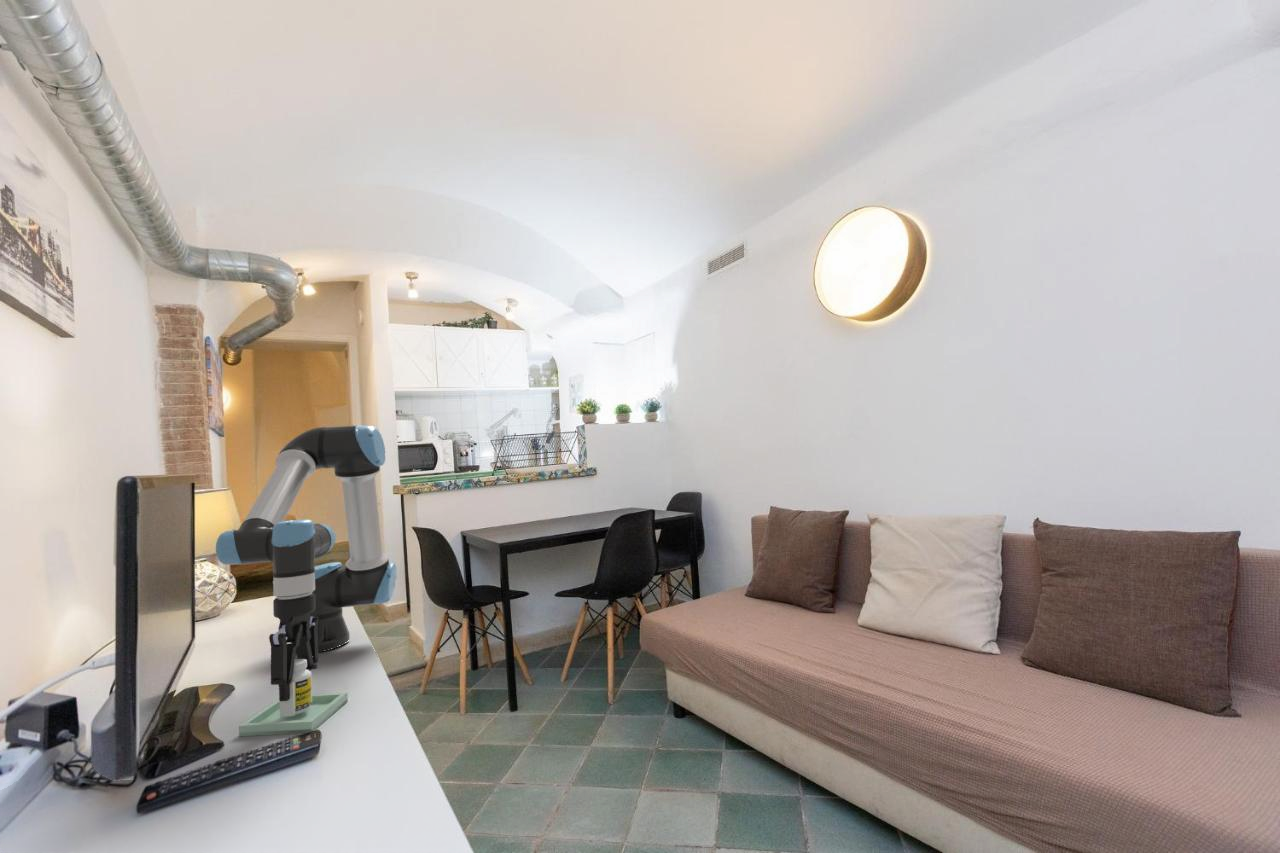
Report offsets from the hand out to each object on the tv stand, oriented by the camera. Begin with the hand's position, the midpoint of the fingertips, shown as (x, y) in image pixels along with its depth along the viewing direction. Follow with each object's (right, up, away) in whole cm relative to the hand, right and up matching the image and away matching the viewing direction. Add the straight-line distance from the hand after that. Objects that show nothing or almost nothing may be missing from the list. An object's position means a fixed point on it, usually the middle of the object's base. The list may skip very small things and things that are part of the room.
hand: (296, 708), depth 118 cm
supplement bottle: (0, -1, 0) cm, 1 cm away
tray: (0, -2, 0) cm, 2 cm away
